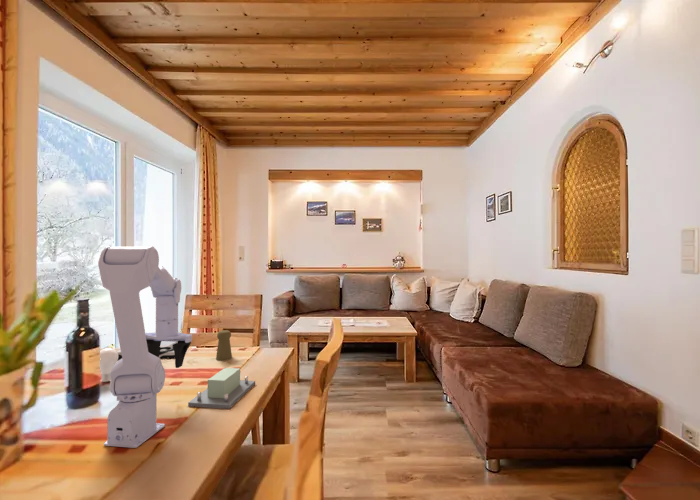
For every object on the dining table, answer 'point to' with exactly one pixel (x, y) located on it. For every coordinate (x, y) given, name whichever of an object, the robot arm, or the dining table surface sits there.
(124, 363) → the robot arm
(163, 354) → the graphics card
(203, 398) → the pin holder
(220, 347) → the olive pepper mill
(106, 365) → the lightbulb
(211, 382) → the sage green block
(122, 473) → the dining table surface
